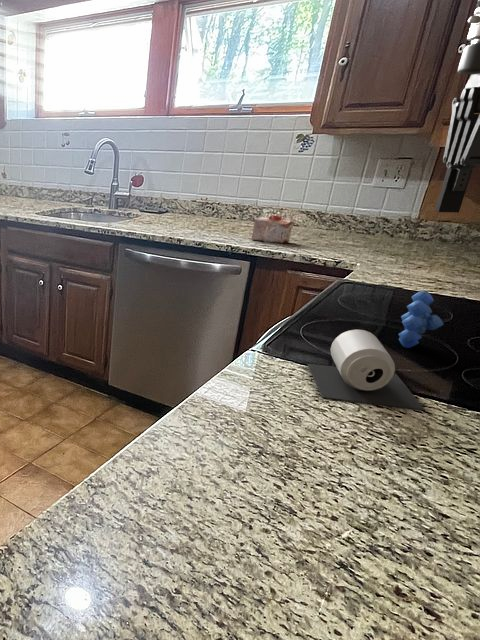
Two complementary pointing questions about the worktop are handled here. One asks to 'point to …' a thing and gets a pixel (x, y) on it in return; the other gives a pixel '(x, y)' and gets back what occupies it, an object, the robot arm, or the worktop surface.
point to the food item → (272, 229)
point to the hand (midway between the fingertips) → (446, 211)
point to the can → (362, 360)
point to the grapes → (418, 319)
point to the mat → (337, 389)
